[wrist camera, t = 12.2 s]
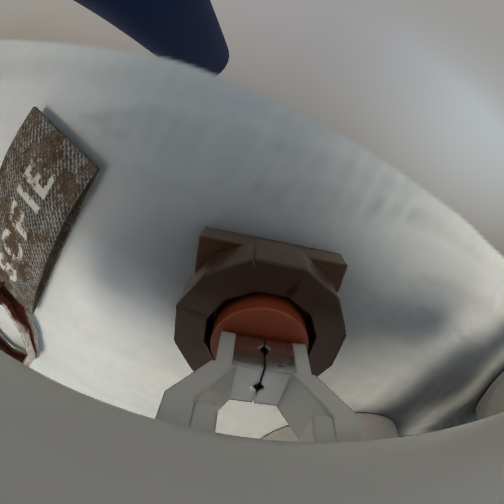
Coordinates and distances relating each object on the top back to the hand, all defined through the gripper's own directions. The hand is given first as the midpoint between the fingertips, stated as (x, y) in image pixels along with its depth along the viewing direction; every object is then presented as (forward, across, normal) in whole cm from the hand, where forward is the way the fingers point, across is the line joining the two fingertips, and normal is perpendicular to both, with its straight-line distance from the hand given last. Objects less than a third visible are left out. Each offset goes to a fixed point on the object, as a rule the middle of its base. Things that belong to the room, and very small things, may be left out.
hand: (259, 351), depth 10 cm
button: (+2, 0, 0) cm, 2 cm away
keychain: (+4, +15, +2) cm, 16 cm away
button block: (+4, 0, 0) cm, 4 cm away
